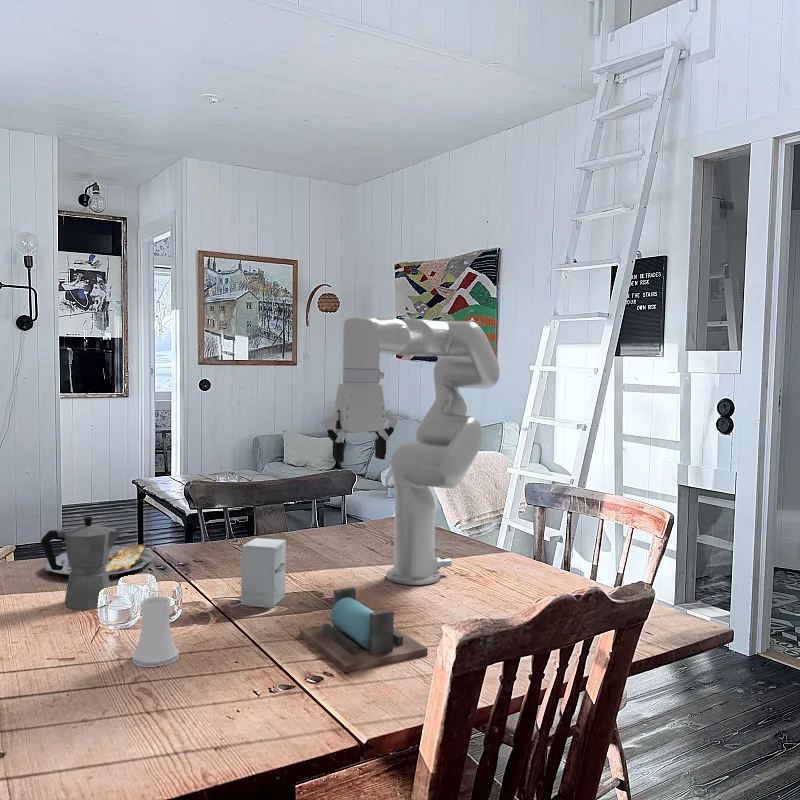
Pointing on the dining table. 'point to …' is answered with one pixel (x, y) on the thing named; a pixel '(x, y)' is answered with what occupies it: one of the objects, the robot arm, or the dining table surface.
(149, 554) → the food plate
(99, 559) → the coffeepot
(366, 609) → the light blue cylinder
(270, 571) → the supplement box
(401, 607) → the dining table surface
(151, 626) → the vase
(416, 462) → the robot arm
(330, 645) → the roll holder
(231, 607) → the dining table surface
